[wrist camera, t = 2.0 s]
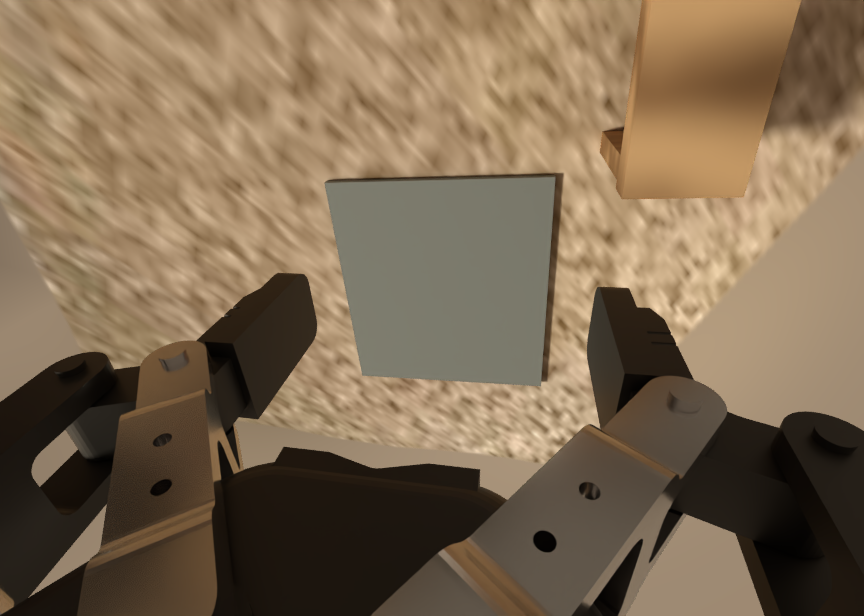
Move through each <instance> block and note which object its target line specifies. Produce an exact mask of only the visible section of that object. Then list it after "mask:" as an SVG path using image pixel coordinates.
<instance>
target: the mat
mask: <svg viewBox="0 0 864 616" xmlns="http://www.w3.org/2000/svg"><path fill="white" fill-rule="evenodd" d="M325 188H326V193H327V198H328V203H329V208H330V213H331V218H332V223H333V229H334V234H335V239H336V244H337V249H338V254H339V259H340V264H341V269H342V274H343V279H344V284H345V289H346V294H347V299H348V305H349V310H350V315H351V320H352V325H353V330H354V335H355V340H356V345H357V350H358V355H359V360H360V365H361V370H362V375H363V376H379V377H396V378H413V379H429V380H446V381H463V382H479V383H496V384H513V385H529V386H541V378H542V363H543V349H544V335H545V320H546V306H547V292H548V277H549V263H550V249H551V234H552V220H553V206H554V191H555V175H532V176H493V177H454V178H416V179H377V180H339V181H326V182H325Z"/></svg>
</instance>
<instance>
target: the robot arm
mask: <svg viewBox="0 0 864 616" xmlns="http://www.w3.org/2000/svg"><path fill="white" fill-rule="evenodd" d="M316 331H317V320H316V315H315V310H314V305H313V301H312V296H311V291H310V286H309V282H308V279H307V277H306V276H305V275H304V274H293V273H277V274H275V275H274V276H273V277H272V278H271V279H270V280H269V281H268V282H267V283H266V284H265V285H264V286H263V287H261V288H260V289H258V290H256V291H254V292H252V293H251V294H249V295H247V296H245V297H243V298H242V299H241V300H240V301H239V302H238V303H237V304H236V305H235V306H234V307H233V309H230V310H229V311H228V312H227V313H226V314H225V315H224V317H222V318H221V319H219V320H218V321H217V322H216V323H215V324H214V325H213V326H212V327H211V328H210V329H209V330H207V331H206V332H205V333H204V334H203V335H202V336H201V337H200V338H199V339H198V340H197V341H180V342H175V343H172V344H169V345H166V346H163V347H161V348H159V349H157V350H155V351H154V352H152V353H151V354H149V355H148V356H147V357H146V358H145V359H144V360H143V361H142V363H141V366H137V367H130V368H122V369H115V370H114V368H113V366H112V365H111V363H110V361H109V359H108V357H107V356H106V355H105V354H103V353H100V352H87V353H81V354H77V355H74V356H71V357H68V358H65V359H63V360H60V361H58V362H56V363H54V364H53V365H51V366H49V367H48V368H47V369H45V370H43V371H42V372H41V373H39V374H38V375H37V376H35V377H34V378H33V379H31V380H30V381H28V382H27V383H26V384H24V385H23V386H22V387H20V388H19V389H18V390H16V391H15V392H14V393H12V394H11V395H10V396H8V397H7V398H5V399H4V400H3V401H1V402H0V616H626V614H627V612H628V611H629V609H630V607H631V605H632V604H633V602H634V600H635V598H636V596H637V593H638V592H639V589H640V587H641V585H642V584H643V582H644V580H645V578H646V576H647V575H648V573H649V572H650V570H651V569H652V567H653V566H654V564H655V563H656V561H657V560H658V558H659V556H660V555H661V554H662V552H663V550H664V549H665V547H666V546H667V544H668V543H669V541H670V540H671V538H672V537H673V535H674V534H675V532H676V531H677V529H678V527H679V526H680V524H681V523H682V521H683V520H684V518H685V517H686V515H690V516H692V517H695V518H697V519H700V520H702V521H705V522H708V523H710V524H713V525H715V526H718V527H720V528H723V529H726V530H728V531H731V532H733V533H736V536H737V539H738V542H739V545H740V547H741V550H742V553H743V556H744V559H745V562H746V564H747V567H748V570H749V573H750V576H751V579H752V581H753V584H754V587H755V590H756V593H757V596H758V598H759V601H760V604H761V607H762V610H763V612H764V615H765V616H864V431H863V430H861V429H859V428H858V427H856V426H854V425H852V424H850V423H848V422H846V421H843V420H841V419H839V418H835V417H833V416H829V415H825V414H821V413H815V412H796V413H792V414H790V415H788V416H787V417H785V418H784V420H783V421H782V423H781V426H780V428H777V427H774V426H770V425H767V424H763V423H760V422H756V421H753V420H749V419H746V418H742V417H740V416H737V415H734V414H732V413H729V412H727V407H726V404H725V403H724V401H723V399H722V398H721V397H720V396H719V395H718V394H717V393H716V392H714V391H713V390H712V389H711V388H709V387H707V386H706V385H704V384H702V383H700V382H697V381H695V380H694V379H693V377H692V375H691V373H690V371H689V369H688V367H687V365H686V363H685V361H684V359H683V357H682V355H681V353H680V351H679V348H678V346H676V342H675V340H674V338H673V336H672V335H671V332H670V330H669V328H668V326H667V324H666V322H665V320H664V319H663V318H662V317H660V316H659V315H658V314H657V313H655V312H654V311H653V310H652V309H650V308H637V306H636V304H635V302H634V299H633V297H632V294H631V292H630V290H629V288H615V287H597V289H596V292H595V297H594V303H593V309H592V316H591V322H590V328H589V334H588V342H587V359H588V365H589V370H590V375H591V381H592V386H593V391H594V396H595V402H596V407H597V412H598V417H599V423H600V428H601V429H599V428H597V427H595V426H594V425H591V424H589V425H587V426H585V427H583V428H582V429H581V430H580V431H579V432H578V433H577V434H576V435H575V436H574V437H573V438H572V439H571V440H570V441H569V442H568V443H566V444H565V445H564V446H563V447H562V448H561V449H560V450H559V451H558V452H557V453H556V454H555V455H554V456H553V457H552V458H551V459H550V460H549V461H548V462H547V463H546V464H545V465H544V466H543V467H542V468H541V469H539V470H538V471H537V472H536V473H535V474H534V475H533V476H532V477H531V478H530V479H529V480H528V481H527V482H526V483H525V484H524V485H523V486H522V487H521V488H520V489H519V490H518V491H517V492H516V493H515V494H514V495H512V496H511V497H510V498H509V499H508V500H506V499H505V498H503V497H501V496H500V495H498V494H496V493H494V492H492V491H490V490H488V489H485V488H483V487H480V469H471V468H461V467H453V466H445V465H436V464H420V465H410V466H399V467H389V468H378V469H375V468H370V467H367V466H365V465H362V464H359V463H357V462H354V461H351V460H349V459H346V458H343V457H341V456H338V455H335V454H333V453H330V452H324V451H316V450H307V449H298V448H290V447H283V449H282V451H281V452H280V454H279V456H278V458H277V459H276V461H275V462H273V463H267V464H262V465H258V466H254V467H251V468H248V469H245V470H244V467H243V461H242V455H241V450H240V444H239V438H238V432H237V429H236V427H235V424H234V422H235V421H236V420H237V419H238V417H242V418H252V419H259V417H260V416H261V415H262V413H263V412H264V410H265V409H266V408H267V406H268V405H269V403H270V402H271V400H272V399H273V398H274V396H275V395H276V393H277V392H278V390H279V389H280V388H281V386H282V385H283V383H284V382H285V381H286V379H287V378H288V376H289V375H290V373H291V372H292V371H293V369H294V368H295V366H296V365H297V363H298V362H299V361H300V359H301V358H302V356H303V355H304V354H305V352H306V351H307V349H308V348H309V346H310V345H311V344H312V342H313V341H314V338H315V336H316ZM64 430H66V431H67V433H68V434H69V436H70V437H71V439H72V440H73V442H74V444H75V445H76V447H77V448H78V450H77V451H76V452H75V453H74V454H73V455H72V456H71V457H70V458H69V459H68V460H67V461H66V462H65V463H64V464H63V465H62V466H61V467H60V468H59V469H58V470H57V471H56V472H55V473H54V474H53V475H52V476H51V477H50V478H49V479H48V480H47V481H46V482H45V483H44V484H43V485H41V487H39V486H38V485H37V483H36V482H35V480H34V479H33V477H32V473H31V469H32V464H33V462H34V460H35V458H36V457H37V455H38V454H39V453H40V452H41V451H42V450H43V449H44V448H45V447H46V446H48V445H49V444H50V443H51V442H52V441H53V440H54V439H55V438H56V437H57V436H59V435H60V434H61V433H62V432H63V431H64ZM106 504H107V508H106V514H105V521H104V528H103V534H102V542H101V547H100V550H99V552H98V553H97V554H96V555H95V556H93V557H92V558H91V559H90V560H89V561H88V562H87V563H85V564H83V565H81V566H80V567H78V568H77V569H75V570H73V571H72V572H70V573H68V574H67V575H65V576H63V577H62V578H60V579H59V580H57V581H55V582H54V583H52V584H50V585H49V586H47V587H45V588H44V589H42V590H41V591H39V592H37V593H35V594H34V595H32V596H31V597H29V596H30V595H31V594H32V592H33V591H34V590H35V589H36V587H38V585H39V584H40V583H41V582H42V580H43V579H44V578H45V577H46V576H47V575H48V573H49V572H50V571H51V570H52V568H53V567H54V566H55V565H56V564H57V563H58V561H59V560H60V559H61V558H62V557H63V555H64V554H65V553H66V552H67V550H68V549H69V548H70V547H71V545H73V543H74V542H75V541H76V540H77V538H78V537H79V536H80V535H81V534H82V533H83V531H84V530H85V529H86V528H87V527H88V525H89V524H90V523H91V522H92V521H93V519H94V518H95V517H96V516H97V515H98V513H99V512H100V511H101V510H102V509H103V507H104V506H105V505H106ZM28 597H29V598H28Z"/></svg>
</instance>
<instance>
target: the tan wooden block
mask: <svg viewBox="0 0 864 616" xmlns="http://www.w3.org/2000/svg"><path fill="white" fill-rule="evenodd" d="M800 3H801V0H642V6H641V13H640V20H639V27H638V34H637V41H636V48H635V55H634V63H633V70H632V77H631V84H630V91H629V98H628V105H627V112H626V119H625V126H624V131H605V132H602V140H601V148H600V153H601V155H602V156H603V158H604V160H605V161H606V163H607V165H608V166H609V168H610V169H611V171H612V173H613V174H614V176H615V178H616V179H617V183H616V190H617V191H618V193H619V195H620V197H621V198H622V199H668V198H732V197H744V194H745V191H746V187H747V184H748V181H749V177H750V174H751V170H752V167H753V164H754V160H755V157H756V153H757V150H758V146H759V143H760V140H761V136H762V133H763V129H764V126H765V123H766V119H767V116H768V112H769V109H770V106H771V102H772V99H773V95H774V92H775V88H776V85H777V82H778V78H779V75H780V71H781V68H782V65H783V61H784V58H785V54H786V51H787V48H788V44H789V41H790V37H791V34H792V30H793V27H794V24H795V20H796V17H797V13H798V10H799V7H800Z"/></svg>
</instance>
